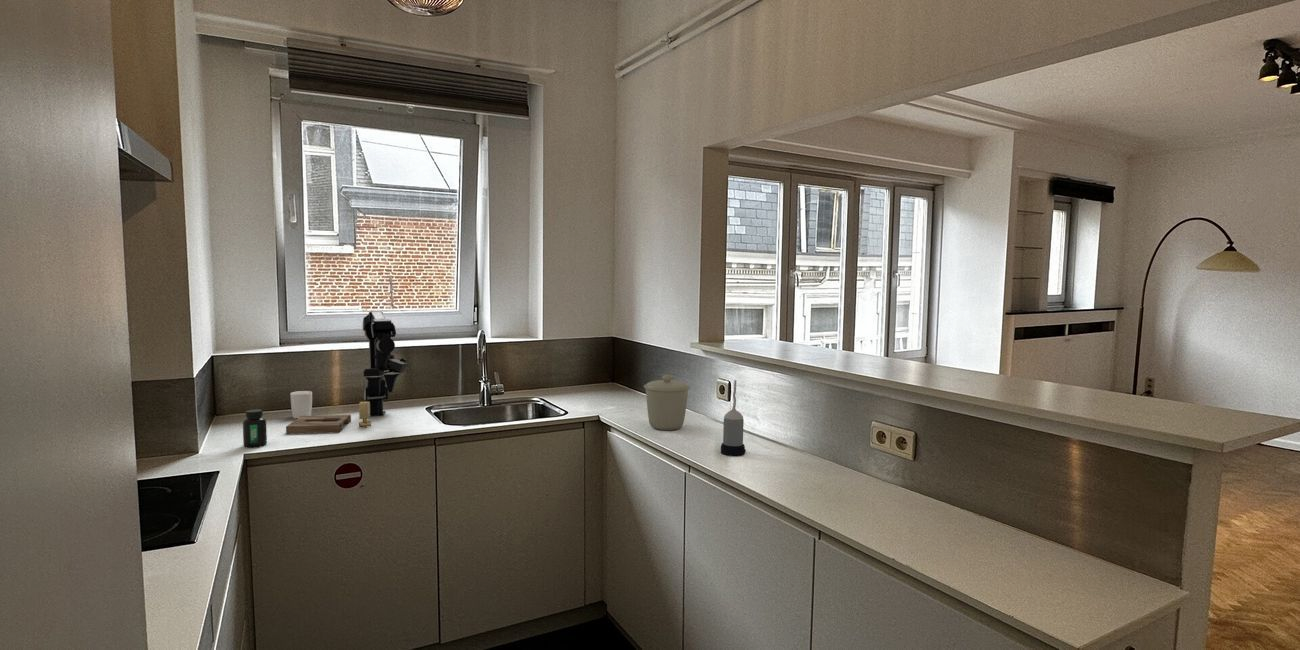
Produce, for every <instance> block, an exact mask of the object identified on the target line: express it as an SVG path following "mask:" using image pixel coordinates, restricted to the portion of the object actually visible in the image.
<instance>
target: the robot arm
mask: <svg viewBox="0 0 1300 650" xmlns="http://www.w3.org/2000/svg"><path fill="white" fill-rule="evenodd" d="M362 331H364V336H365V337H366V339H367V340H368V354H369V355H368V357H369V368H365V369H364V370H362V373H363V374H362V375H363V377H365V379H366V380H367V381H366V382H365V383H366V384H365V386H364V390H363V400H364V402H370V417H372V416H384V415H385V413H386V410H384V400H388V399H389V393H392V392H393V391H394V388H395V387H394V386H395V383H396V380H397V378H398V377H399V376H401V375H402V373H404V372H405V371H406V368H408V366H409V365H408V364H409V363H408V359H406V358H400V359H395V355H394V354H392V352H393V351H394V349H395V347H396V343H395V341H394V340H393V339H392V338H395V337H396V335H397V330H396V326H395V324H394V322H392V319H390V318H386V317H385V316H384V312H383V311H381V310H370V311H368V314H367V315H365V316H364V317H363V320H362Z"/></svg>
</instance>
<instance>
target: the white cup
mask: <svg viewBox="0 0 1300 650" xmlns="http://www.w3.org/2000/svg"><path fill="white" fill-rule="evenodd" d="M289 394H290V405H291V406H290V407H291V412H292V418H293V419H296V418H299V417H300V416H311V415H312V410H313V409H312V408H313V391H311V390H298V391H292V392H290V393H289Z"/></svg>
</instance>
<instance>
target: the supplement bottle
mask: <svg viewBox="0 0 1300 650" xmlns="http://www.w3.org/2000/svg"><path fill="white" fill-rule="evenodd" d="M263 416H264V413H263V410H262V409H258V408H257V409H250V410H249V409H248V410H246V411H245V419H244V420H243V421H242V436H243V437H242V440H243V441H242V442H243V447H244V448H246V447H247V448H246V449H254V447H257V448H261V447H260V446H262V447H264V445H265V446H267V443H268V438H267V436H268V435H267V433H268V432H267V419H266V418H265V417H263Z"/></svg>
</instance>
